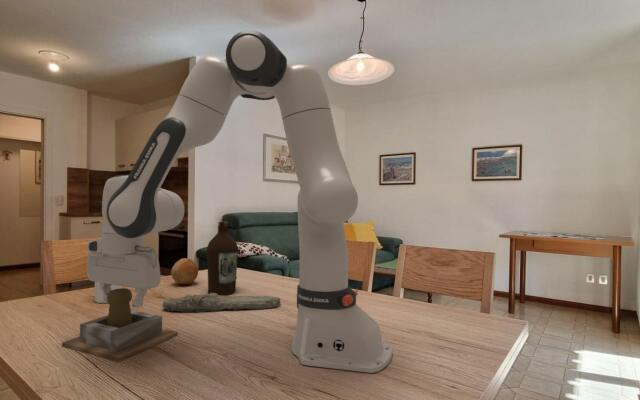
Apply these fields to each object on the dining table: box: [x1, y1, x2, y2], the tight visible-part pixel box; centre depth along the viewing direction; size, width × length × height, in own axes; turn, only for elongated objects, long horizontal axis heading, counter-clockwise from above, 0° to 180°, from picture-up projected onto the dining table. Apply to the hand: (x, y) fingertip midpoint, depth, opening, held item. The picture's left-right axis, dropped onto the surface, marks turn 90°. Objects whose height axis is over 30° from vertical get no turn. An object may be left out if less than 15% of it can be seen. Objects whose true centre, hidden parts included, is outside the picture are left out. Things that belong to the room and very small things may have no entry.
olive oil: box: [206, 221, 239, 296], centre depth 130 cm, size 11×11×25 cm
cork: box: [107, 287, 133, 328], centre depth 86 cm, size 6×6×11 cm
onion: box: [170, 257, 199, 286], centre depth 140 cm, size 10×10×10 cm
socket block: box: [61, 309, 179, 363], centre depth 85 cm, size 18×16×5 cm
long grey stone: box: [161, 293, 281, 313], centre depth 112 cm, size 35×5×10 cm
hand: (122, 303), depth 85 cm, fingers open, 8 cm apart
